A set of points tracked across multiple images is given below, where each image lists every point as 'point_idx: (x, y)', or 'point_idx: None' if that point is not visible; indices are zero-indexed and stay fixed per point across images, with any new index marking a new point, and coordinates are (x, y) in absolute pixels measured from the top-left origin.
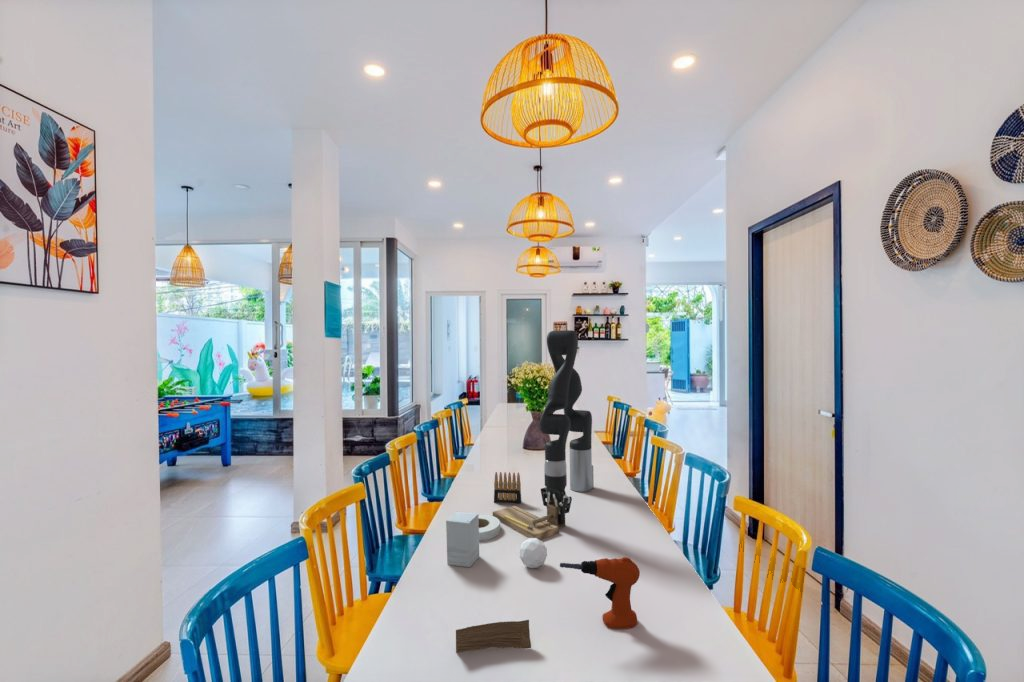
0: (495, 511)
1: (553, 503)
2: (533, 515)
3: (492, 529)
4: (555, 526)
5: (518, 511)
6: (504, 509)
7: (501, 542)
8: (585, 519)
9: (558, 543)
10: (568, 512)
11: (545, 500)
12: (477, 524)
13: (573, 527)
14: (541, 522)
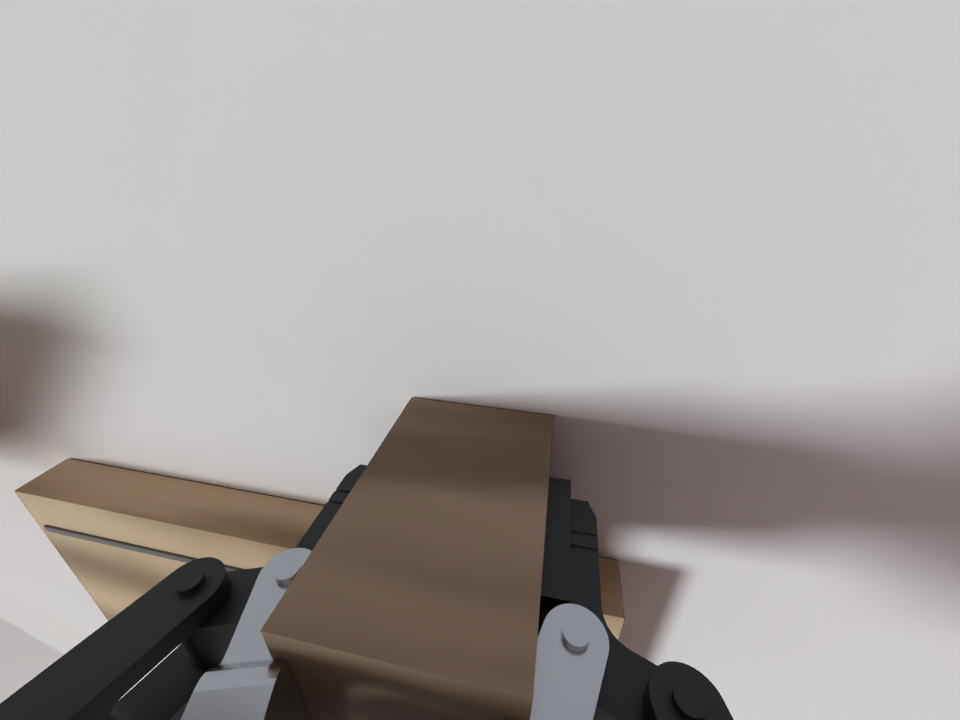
0: (111, 618)
1: (321, 702)
2: (267, 552)
3: None
4: None
5: (145, 554)
6: (85, 575)
7: None
8: (620, 4)
9: (750, 672)
10: (707, 688)
11: (178, 711)
12: None
13: (658, 388)
14: None
